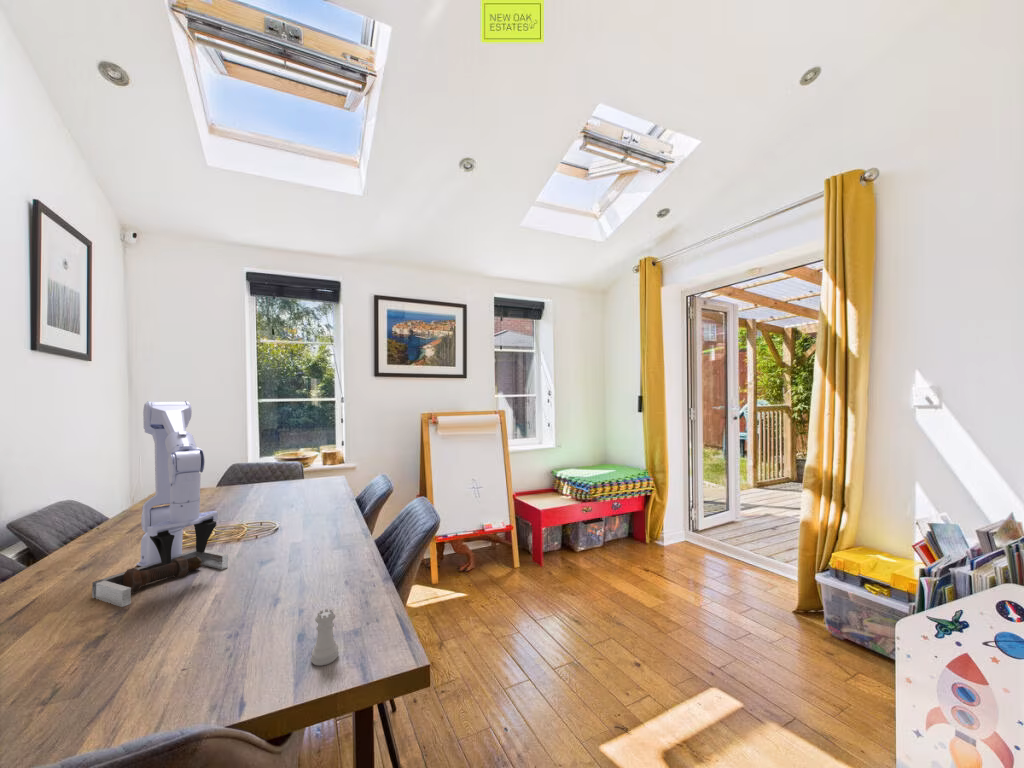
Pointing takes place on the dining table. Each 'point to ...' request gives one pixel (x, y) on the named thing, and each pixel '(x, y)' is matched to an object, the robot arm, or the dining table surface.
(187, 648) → the dining table surface
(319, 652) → the rook chess piece
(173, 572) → the bolt
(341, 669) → the dining table surface
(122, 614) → the dining table surface
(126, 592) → the keeper
